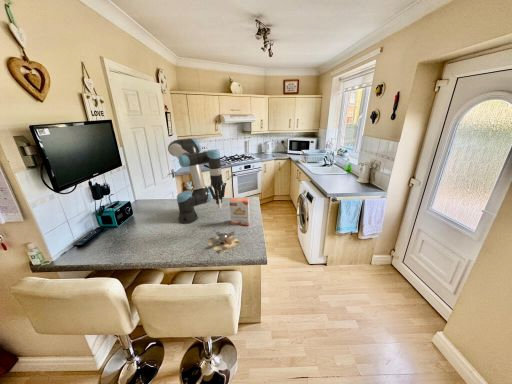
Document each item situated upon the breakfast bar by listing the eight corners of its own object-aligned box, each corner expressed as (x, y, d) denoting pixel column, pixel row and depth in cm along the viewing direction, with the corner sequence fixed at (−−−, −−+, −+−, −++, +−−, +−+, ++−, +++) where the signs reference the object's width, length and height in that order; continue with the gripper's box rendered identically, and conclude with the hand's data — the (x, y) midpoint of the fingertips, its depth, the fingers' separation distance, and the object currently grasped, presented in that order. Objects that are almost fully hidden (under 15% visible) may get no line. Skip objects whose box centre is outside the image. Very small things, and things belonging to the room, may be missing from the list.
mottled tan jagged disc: (206, 243, 133) (205, 239, 132) (227, 233, 144) (227, 229, 142) (219, 256, 121) (219, 251, 120) (242, 244, 132) (241, 240, 130)
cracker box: (231, 225, 154) (229, 201, 146) (232, 221, 159) (230, 197, 152) (249, 226, 152) (247, 201, 145) (250, 222, 158) (249, 198, 150)
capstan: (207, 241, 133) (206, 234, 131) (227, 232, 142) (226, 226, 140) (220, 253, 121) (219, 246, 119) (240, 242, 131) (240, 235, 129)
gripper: (209, 177, 121) (214, 212, 129) (227, 173, 129) (230, 206, 137) (203, 175, 126) (208, 209, 134) (221, 171, 134) (225, 203, 142)
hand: (219, 207), depth 136 cm, fingers closed
